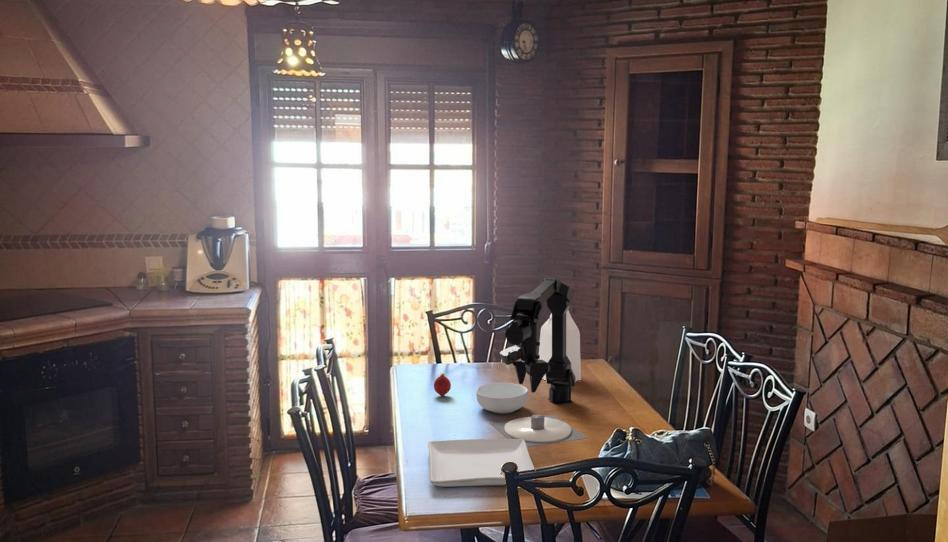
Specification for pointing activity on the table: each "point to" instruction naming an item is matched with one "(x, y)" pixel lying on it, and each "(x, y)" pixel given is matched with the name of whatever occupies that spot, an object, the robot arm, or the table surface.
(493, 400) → the cereal bowl
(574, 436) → the mat
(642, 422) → the table surface
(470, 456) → the square plate
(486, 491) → the table surface
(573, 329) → the milk
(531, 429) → the lid
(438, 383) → the onion
